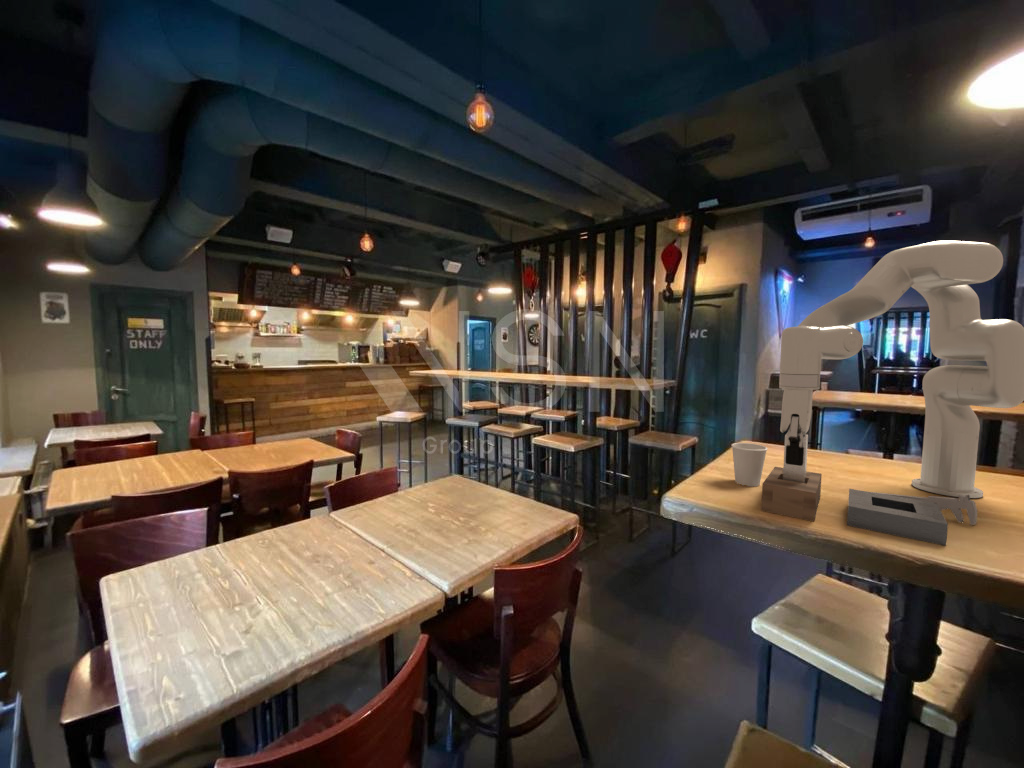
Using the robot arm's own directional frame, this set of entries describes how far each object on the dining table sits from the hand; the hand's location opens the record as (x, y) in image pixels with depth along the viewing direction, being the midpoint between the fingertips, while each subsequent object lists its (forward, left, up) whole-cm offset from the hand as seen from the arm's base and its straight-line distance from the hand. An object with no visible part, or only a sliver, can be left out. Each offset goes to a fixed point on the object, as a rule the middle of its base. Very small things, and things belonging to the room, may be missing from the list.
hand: (795, 461), depth 96 cm
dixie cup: (-11, -11, -10) cm, 19 cm away
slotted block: (0, 0, -10) cm, 10 cm away
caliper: (-14, +21, -10) cm, 27 cm away
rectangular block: (0, 0, -8) cm, 8 cm away
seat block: (0, +17, -10) cm, 20 cm away
